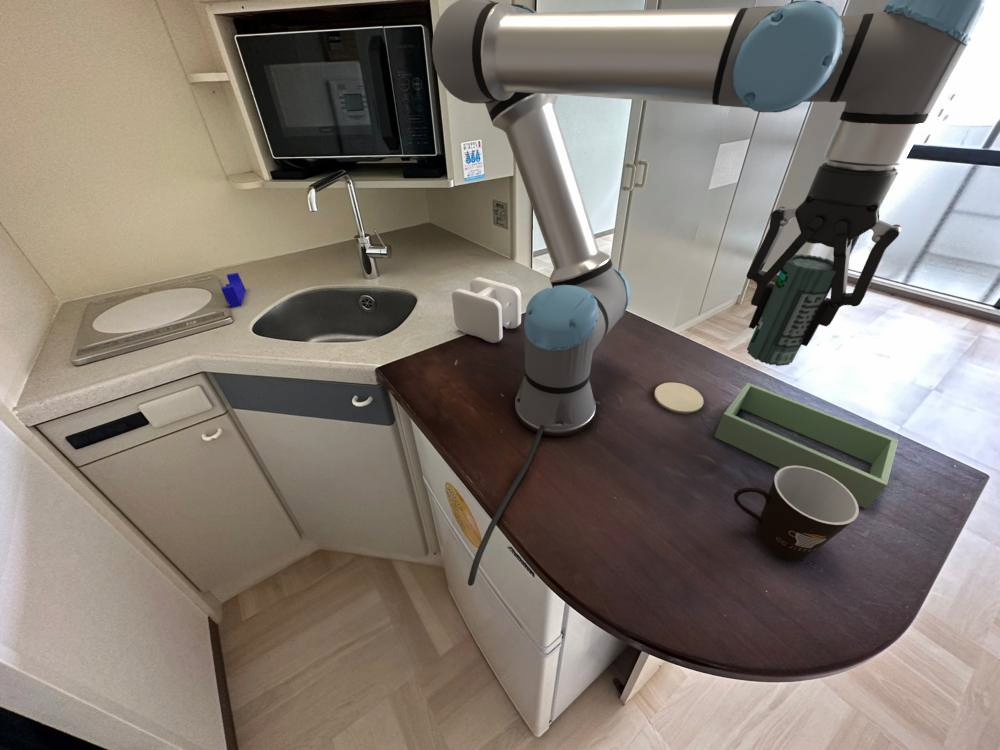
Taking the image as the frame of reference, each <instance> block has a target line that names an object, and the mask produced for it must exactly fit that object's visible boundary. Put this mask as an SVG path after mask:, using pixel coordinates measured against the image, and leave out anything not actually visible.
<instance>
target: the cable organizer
mask: <svg viewBox="0 0 1000 750" xmlns="http://www.w3.org/2000/svg"><path fill="white" fill-rule="evenodd" d="M469 289H470V291H469V290H467V289H462V288H457V289H456V290H454V291H452V293H451V301H452V311H453V317H454V318H453V319H454V324H455V325H454V326H455V327H456V329H458V330H459V331H461V332H462V333H464V334H466V335H470V336H473V337H477V338H480V339H482V340H484V341H486V342H488V343H492V344H494V343H499V342H500V341H501V340H502V339H503V337H504V335H503V333H504V332H503V331H504V330H503V327H504V328H506V330H508V329H516V328H518V327H519V326H520V325H521V323H522V293H521V291H520V289H519V288H517V287H516V286H514V285H511V284H507V283H503V282H499V281H495V280H492V279H488V278H484V277H481V276H479V277H478V276H477V277H475V278H473V279H471V280H470V282H469Z"/></svg>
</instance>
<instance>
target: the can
mask: <svg viewBox="0 0 1000 750" xmlns="http://www.w3.org/2000/svg"><path fill="white" fill-rule="evenodd" d="M833 261H834V260H831V259H829V258H827V257H826V258H824V257H822V256H817V255H811V254H803V253H800V254H795V255H794V256H793V257H792V258H791V259H790V260H787V261H786V263H785V266H784V267H783V268H782V269H781V271H780V272H779V273H778V275H777V278H776V280H775V283H774V284H775V285H774V287H773V289H772V292H771V294H770V296H769V299H768V301H767V303H766V306H765V308H764V310H763V313H762V315H761V317H760V320H759V322H758V324H757V326H756V327H755V328H754V331H753V334H752V336H751V338H750V341H749V343H748V346H747V348H746V351H747V354H748V355H750V356H751V357H752V358H753V359H754V360H755V361H757V360H758V361H759V362H760V363H764V364H765V365H767V364H768V365H769V366H773V365H775V366H776V367H782V366H789V365H790V364H792V363H793V361H794V360H795V357H796V356H797V354H798V352H799V350H800V349H801V346H802V345H801V343H802V341H803V339H804V337H805V335H806V333H807V331H808V329H809V327H810V326H811V324H812V322H813V320H814V318H815V316H816V314H817V312H818V310H819V308H820V307H821V305H822V303H823V302H824V301H825V299H826V298H828V296H829V294H830V292H831V286H832V279H833V277H834V275H835V273H836V271H834V270H833Z"/></svg>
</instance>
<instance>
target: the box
mask: <svg viewBox="0 0 1000 750" xmlns="http://www.w3.org/2000/svg"><path fill="white" fill-rule="evenodd" d="M741 410H743V411H744V412H745V411H746V412H748V413H750V414H753V415H755V416H756V417H757V416H758V417H759V418H761V419H765V420H767V421H769V422H771V423H773V424H777V425H779V426H781V427H783V428H786V429H789V430H790V431H793V432H796V433H798V434H800V435H803V436H805V437H808V438H810V439H812V440H814V441H816V442H819V443H822V444H824V445H826V446H829V447H831V448H834V449H836V450H838V451H840V452H842V453H845V454H847V455H850V456H852V457H855V458H857V459H860V460H862V461H864V462H866V463H869V464H871V467H870V470H869V473H868V472H866V471H863V470H861V469H859V468H857V467H854V466H852V465H850V464H847V463H845V462H843V461H840V460H838V459H836V458H834V457H832V456H829V455H826V454H824V453H822V452H820V451H817V450H815V449H813V448H811V447H808V446H806V445H804V444H801V443H800V442H797V441H794V440H792V439H790V438H787V437H785V436H782V435H781V434H778V433H776V432H775V431H771V430H769V429H766V428H765V427H762V426H761V425H757V424H755V423H753V422H751V421H748V420H746V419H743V418H741V417H739V416H737V414H738V413H739V412H740V411H741ZM713 436H714V438H716V439H718V440H720V441H723V443H726V444H728V445H730V446H733V447H735V448H737V449H739V450H740V451H743V452H744V453H745V452H746V454H747V453H748V454H749V455H752V456H754V457H756V458H758V459H760V460H762V461H764V462H767V463H768V464H770V465H772V466H775V467H776V468H779V469H782V468H784V467H787V466H805V467H809V468H813V469H816V470H819V471H821V472H823V473H825V474H828V475H829V476H831V477H833V478H834V479H836V480H837V481H839V482H840V483H841V484H843V485H844V486H845V487H846V488H847V489H848V490H849V491H850V492H851V493H852V495H853V496H854V498H855V499H856V501H857V504H858V506H859V507H860V508H863V509H864V510H867V509H868V508H869V507H870V506H871V504H872V503H873V502H875V500H876V499H877V498H878V496H879V495H880V494H881V493H882V492H883V491H884V490H885V488H886V487H887V486H888V484H889V483H888V482H889V479H890V474H891V471H892V467H893V464H894V460H895V454H896V451H897V447H898V443H899V440H898V439H897V438H895V437H892V436H889V435H886V434H884V433H881V432H878V431H876V430H873V429H870V428H868V427H865V426H863V425H860V424H858V423H856V422H852V421H850V420H847V419H845V418H842V417H839V416H836V415H834V414H831V413H828V412H826V411H823V410H821V409H818V408H815V407H813V406H810V405H808V404H805V403H802V402H800V401H797V400H795V399H792V398H789V397H787V396H784V395H781V394H779V393H776V392H774V391H771V390H769V389H766V388H763V387H760V386H757V385H756V384H753V383H750V382H746V383H745V385H744V386H743V387H742V388H741V390H740V392H739V393H738V394H737V395H736V397H734V400H733V401H732V402H731V403H730V405H729V406H728V407H727V408H726V410H725V411H724V412H723V414H722V417H721V419H720V421H719V424H718V426H717V429H716V431H715V433H714V435H713Z"/></svg>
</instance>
